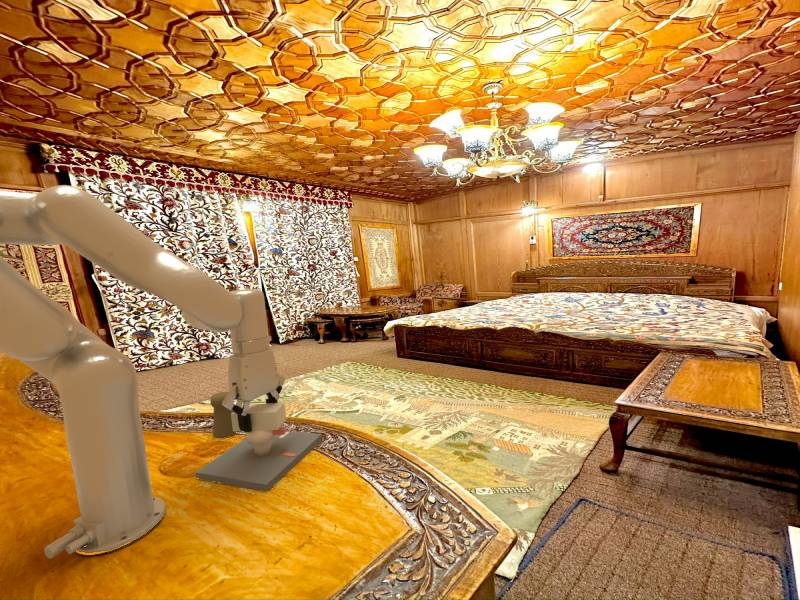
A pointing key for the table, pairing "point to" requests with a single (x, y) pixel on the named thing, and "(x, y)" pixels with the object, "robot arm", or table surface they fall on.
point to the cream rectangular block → (263, 422)
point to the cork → (221, 417)
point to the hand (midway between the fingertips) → (260, 422)
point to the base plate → (260, 461)
